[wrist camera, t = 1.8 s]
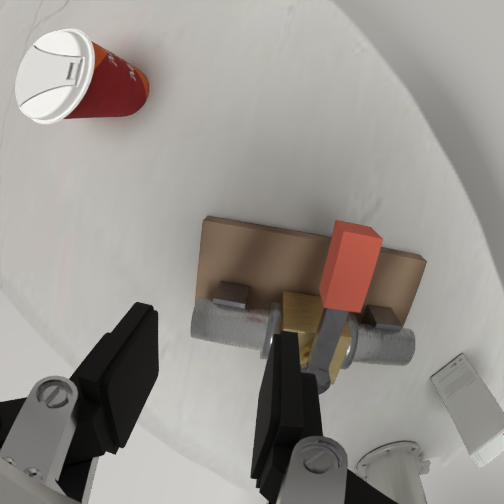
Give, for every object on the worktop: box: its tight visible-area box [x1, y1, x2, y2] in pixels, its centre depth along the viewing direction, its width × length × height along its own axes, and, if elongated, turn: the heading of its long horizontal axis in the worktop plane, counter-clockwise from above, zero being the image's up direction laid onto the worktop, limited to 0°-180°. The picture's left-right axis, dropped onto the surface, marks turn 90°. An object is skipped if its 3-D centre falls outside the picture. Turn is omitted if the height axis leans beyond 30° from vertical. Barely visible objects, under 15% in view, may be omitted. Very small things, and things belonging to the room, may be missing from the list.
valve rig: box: [191, 216, 427, 384], centre depth 29 cm, size 24×14×11 cm, turn 81°
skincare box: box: [431, 353, 504, 468], centre depth 30 cm, size 8×7×16 cm
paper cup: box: [15, 29, 149, 124], centre depth 22 cm, size 8×8×14 cm
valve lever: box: [300, 220, 383, 395], centre depth 22 cm, size 14×3×3 cm, turn 171°
